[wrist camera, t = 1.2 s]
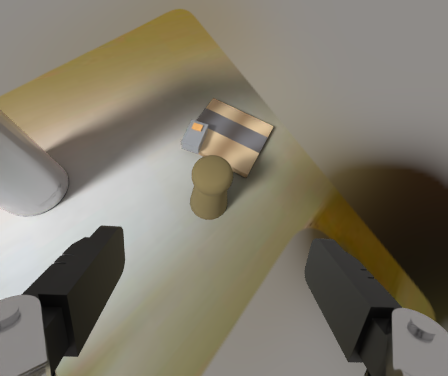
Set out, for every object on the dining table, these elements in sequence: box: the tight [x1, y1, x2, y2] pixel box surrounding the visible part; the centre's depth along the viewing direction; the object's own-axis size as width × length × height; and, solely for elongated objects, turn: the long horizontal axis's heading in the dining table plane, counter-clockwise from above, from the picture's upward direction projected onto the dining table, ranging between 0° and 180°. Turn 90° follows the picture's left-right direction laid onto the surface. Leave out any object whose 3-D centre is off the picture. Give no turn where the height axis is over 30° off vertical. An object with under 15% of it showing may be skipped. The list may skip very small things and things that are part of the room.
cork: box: [190, 155, 233, 220], centre depth 32 cm, size 6×6×11 cm
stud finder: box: [181, 120, 208, 154], centre depth 39 cm, size 3×5×2 cm, turn 163°
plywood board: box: [181, 98, 274, 178], centre depth 42 cm, size 13×12×1 cm
